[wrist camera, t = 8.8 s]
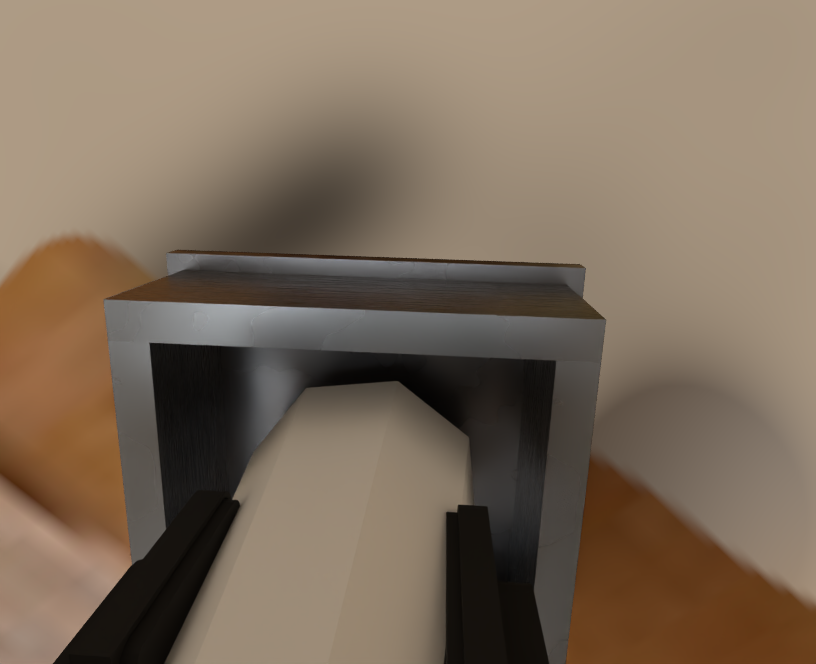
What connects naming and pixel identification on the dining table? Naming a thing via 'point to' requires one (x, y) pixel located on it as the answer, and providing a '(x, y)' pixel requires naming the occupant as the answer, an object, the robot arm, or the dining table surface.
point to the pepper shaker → (337, 537)
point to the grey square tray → (367, 363)
